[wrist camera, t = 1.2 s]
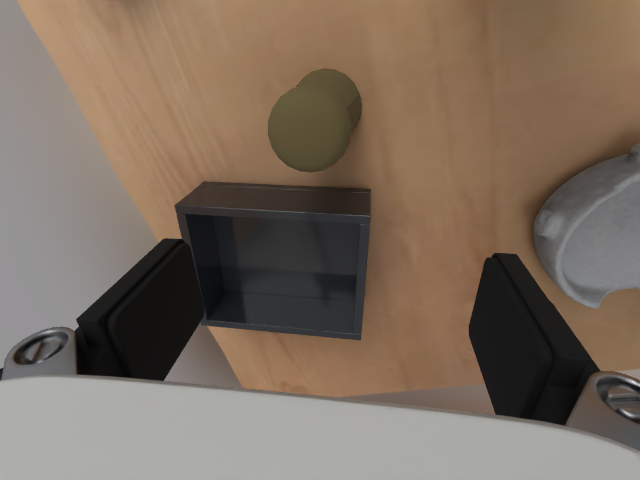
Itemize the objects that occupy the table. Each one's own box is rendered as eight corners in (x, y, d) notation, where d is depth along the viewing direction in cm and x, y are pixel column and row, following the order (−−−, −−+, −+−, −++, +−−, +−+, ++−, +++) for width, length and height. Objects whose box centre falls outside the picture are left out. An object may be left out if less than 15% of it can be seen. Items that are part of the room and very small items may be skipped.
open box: (203, 181, 35) (174, 205, 30) (370, 189, 33) (370, 215, 28) (222, 290, 41) (200, 325, 36) (362, 301, 40) (360, 340, 34)
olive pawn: (295, 144, 32) (263, 187, 22) (287, 71, 29) (246, 84, 19) (362, 141, 31) (358, 184, 21) (360, 65, 28) (355, 76, 18)
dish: (725, 241, 31) (782, 273, 27) (560, 304, 36) (585, 339, 32) (683, 101, 26) (745, 112, 22) (501, 196, 32) (521, 220, 27)
